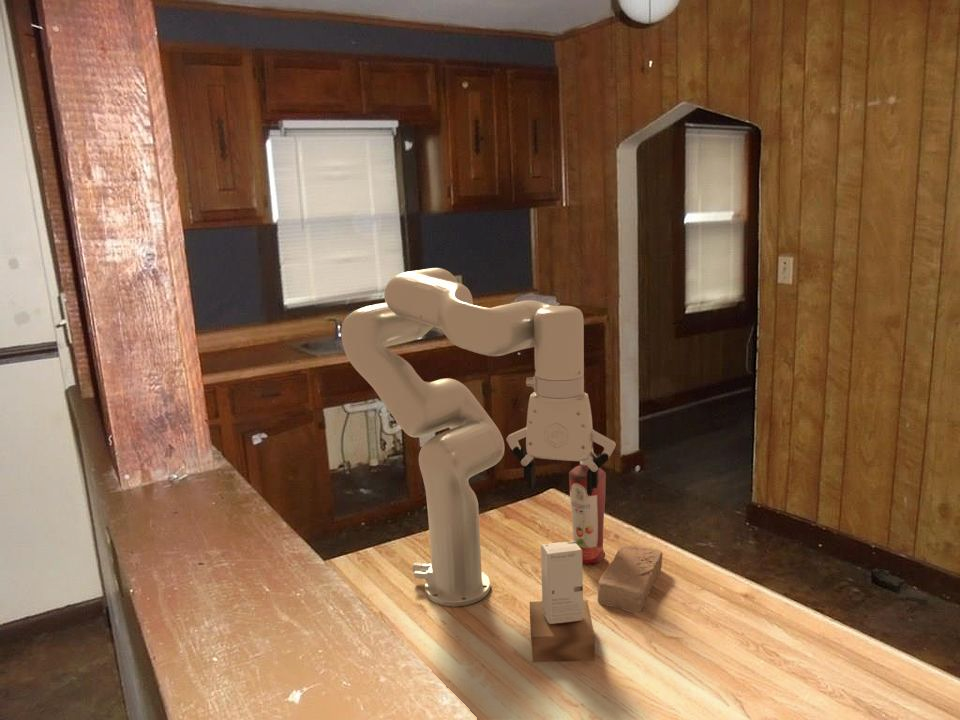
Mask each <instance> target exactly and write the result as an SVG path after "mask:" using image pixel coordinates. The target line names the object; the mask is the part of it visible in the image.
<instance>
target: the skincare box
mask: <svg viewBox="0 0 960 720" xmlns="http://www.w3.org/2000/svg"><path fill="white" fill-rule="evenodd" d="M540 553H541V558H540V559H541V562H540V564H541V566H540V567H541V594H542V595H541V597H542V598H541V600H542V605H543V614H544V616H545V618H546V620H547V621H548V623H549V624H555V623H565V622H573V621H580V620H582V619H583V600H584V589H583V588H584V583H583V581H584V579H583V577H584V574H583V564H582V549H581V548H580V547H579V546H578V545H577V544H576V543H575V541H573V540H570V541H557V542H552V543H542V544H540Z"/></svg>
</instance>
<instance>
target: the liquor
mask: <svg viewBox="0 0 960 720" xmlns="http://www.w3.org/2000/svg"><path fill="white" fill-rule="evenodd" d="M593 430H594V431H595V429H593ZM592 451H593V452H594V447H593V448H592ZM588 468H589V467H588V466H587V465H586V463H585V462H584V461H579V465H577V466H575V467H574V468H572V469H571V470H570V471H569V472H568V480H569V496H570V497H569V499H570V509H571V510H570V511H571V522H572V523H571V526H572V541H575V543H576V544H577V545H578V546H579V547H580V548H581V549H582V566H594V565H597V564H598V563H599V562H601V561H602V560H604V558H606V552H605V551H604V527H605V524H604V523H605V522H604V521H605V505H606V484H607V483H606V482H607V480H606V479H607V473H606V471H605V470H604V469H602V468H601V467H600V468H598V487H597V488H594V490H593V493H592V495H588V494H587V471H588Z"/></svg>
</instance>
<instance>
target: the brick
mask: <svg viewBox="0 0 960 720" xmlns="http://www.w3.org/2000/svg"><path fill="white" fill-rule="evenodd" d="M663 554H664V553H663V552H662V550H659V549H656V548H653V547H647V546H640V545H638V546H636V545H628V544H624V543H623V544H621V545H620V546H618V549H617V552H616V554H615V555H614V558H613V560H611V562H610V563H609V565H608V566H607V568H606V569H604V570H605V571H604V572H603V573H602V575H600V579H599V580H598V586H597V602H598V603H599V604H600V605H604V606H608V607H612V608H613V607H614V608H617V609H620V610H624V611H627V612H630V613H631V612H632V613H639V612H641V611H642V609H643V608H644V605H645V602H646V600H647V599H648V597H649V594H650V592H651V591H652V589H653V587H654V585H655V583H656V581H657V579H658V576H659V574H660V572H661V570H662V564H663V561H662V560H663V556H664V555H663Z"/></svg>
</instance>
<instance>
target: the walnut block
mask: <svg viewBox="0 0 960 720" xmlns="http://www.w3.org/2000/svg"><path fill="white" fill-rule="evenodd" d="M588 602H589V601H588V600H587V599H586V600H584V599H583V619H582V620H580V621H573V622H565V623H555V624H549V623H548V621H547V620H546V618H545V616H544V614H543V605H542V601H540V600H539V601H529V625H530V626H529V628H530V644H531V645H530V646H531V660H532V663H562V662H564V663H565V662H568V663H569V662H596V657H595V656H596V648H595V647H596V639H595V637H596V636H595V631H594V630H595V629H594V627H593V626H594V625H593V622H592V616H591V612H590V607H589V603H588Z"/></svg>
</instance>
